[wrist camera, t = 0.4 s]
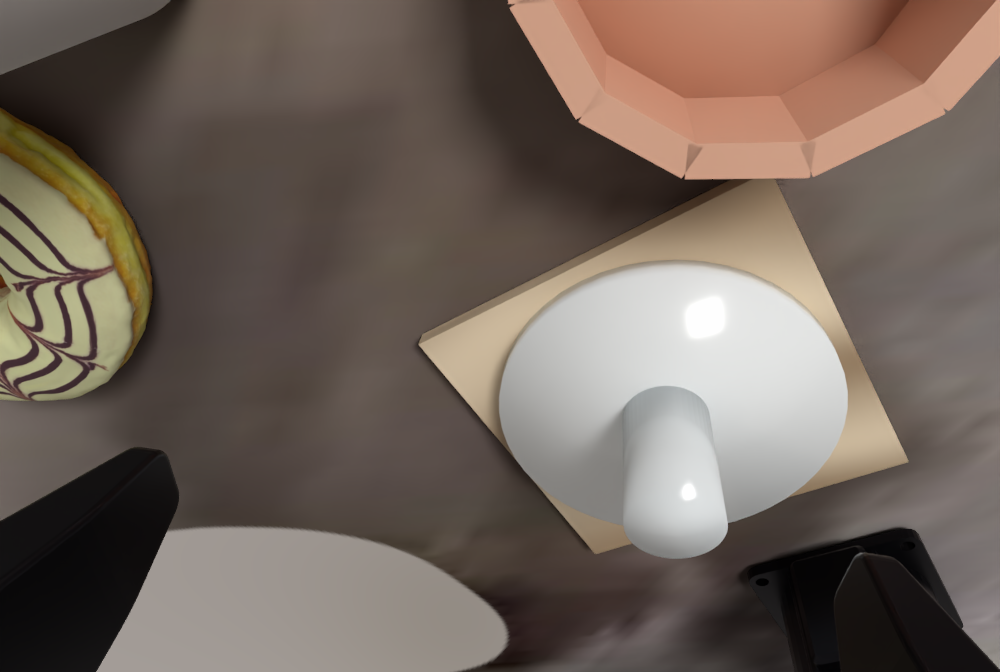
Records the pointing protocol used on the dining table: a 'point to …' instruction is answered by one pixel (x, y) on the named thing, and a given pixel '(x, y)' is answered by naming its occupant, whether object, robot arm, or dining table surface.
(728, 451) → the lid
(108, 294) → the decorated donut
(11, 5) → the beverage can
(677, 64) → the bowl
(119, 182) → the dining table surface
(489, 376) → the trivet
